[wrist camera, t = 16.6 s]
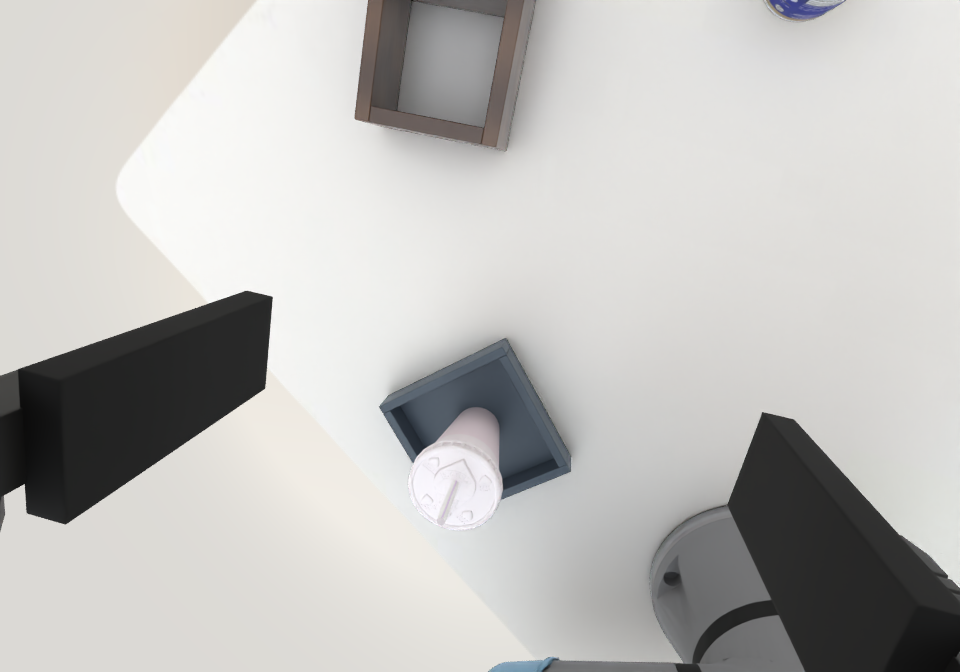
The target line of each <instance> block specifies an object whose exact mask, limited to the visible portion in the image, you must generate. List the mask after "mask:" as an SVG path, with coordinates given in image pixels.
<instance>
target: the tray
mask: <svg viewBox="0 0 960 672" xmlns="http://www.w3.org/2000/svg"><path fill="white" fill-rule="evenodd" d="M472 407H480V408H484V409H486V410H488V411H490V412H491V413H492V414H493V415H494V416H495V417H496V419H497V420H498V423H499V427H500V433H499V471H500V473H501V476H502V483H503V491H502V496H501V499H504V498H506V497H509V496H511V495H514V494H516V493H519V492H521V491H524V490H526V489H529V488H531V487H534V486H536V485H539V484H541V483H544V482H546V481H549V480H551V479H554V478H556V477H559V476H561V475H564V474H566V473H569V472H571V456H570V454H569V452H568V450H567V448H566V447H565V445H564V443H563V441H562V439H561V438H560V436H559V434H558V432H557V430H556V428H555V427H554V425H553V423H552V421H551V419H550V417H549V416H548V414H547V412H546V410H545V408H544V406H543V405H542V403H541V401H540V399H539V397H538V395H537V394H536V392H535V390H534V388H533V386H532V384H531V383H530V381H529V379H528V377H527V375H526V373H525V372H524V370H523V368H522V366H521V364H520V362H519V361H518V359H517V357H516V355H515V353H514V351H513V350H512V348H511V346H510V344H509V342H508V340H507V339H506V338H505V339H503V340H501V341H499V342H497V343H495V344H493V345H491V346H489V347H487V348H484V349H482V350H480V351H478V352H476V353H474V354H472V355H470V356H468V357H466V358H464V359H462V360H460V361H458V362H456V363H454V364H452V365H450V366H448V367H446V368H443V369H441V370H439V371H437V372H435V373H433V374H431V375H429V376H427V377H425V378H423V379H421V380H419V381H417V382H415V383H413V384H411V385H409V386H407V387H405V388H402V389H400V390H398V391H396V392H394V393H392V394H390V395H388V397H387V398H386V399H385V400H384V401H383V403H382V404H381V405H380V406H379V408H380V409H381V411H382V413H384V416H385V418H386V419H387V421H388V423H389V424H390V426H391V428H392V429H393V431H394V433H395V434H396V436H397V438H398V439H399V441H400V442H401V444H402V446H403V447H404V449H405V451H406V452H407V454H408V456H409V457H410V459H411V461H412V462H413V464H414V461H415V459H416V457H417V456H418V455H419V454H420V453H421V452H422V451H423V450H424V449H425V448H427V447H428V446H430V445H432V444H433V443H435V442H436V441H437V440H438V439H439V437H440V436H441V435H442V434H443V433H444V432H445V431H446V430H447V428H448V427H449V426H450V425H451V424H452V423H453V422H454V420H455V419H456V418H457V417H458V416H459V415H460V414H461V413H462V412H463V411H464V410H466V409H468V408H472Z"/></svg>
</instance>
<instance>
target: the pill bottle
mask: <svg viewBox="0 0 960 672" xmlns="http://www.w3.org/2000/svg"><path fill="white" fill-rule="evenodd" d="M764 1H765V3H766V5H767V7H768V8H769V9H770V10H771V11H772V12H773V13H774V14H775V15H776V16H778V17H780V18H782V19H784V20H787V21H792V22H803V21H808V20H812V19H815V18H817V17H819V16H821V15H823V14H825V13H827V12H828V11H830V10H832V9H833V8H835V7H837V6H838V5H840V4H841V3H843V2H844V1H846V0H764Z"/></svg>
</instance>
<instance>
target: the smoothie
mask: <svg viewBox="0 0 960 672" xmlns="http://www.w3.org/2000/svg"><path fill="white" fill-rule="evenodd" d="M499 433H500V427H499V423H498V420H497V419H496V417H495V416H494V415H493V414H492V413H491V412H490V411H488V410H486V409H484V408H480V407H472V408H468V409H466V410H464V411H463V412H462V413H461V414H460V415H459V416H458V417H457V418H456V419H455V420H454V422H453V423H452V424H451V425H450V426H449V427H448V428H447V430H446V431H445V432H444V433H443V434H442V435H441V436H440V437H439V439H438V440H437V441H436V442H435V443H433V444H432V445H430V446H428V447H427V448H425V449H424V450H423V451H422V452H421V453H420V454H419V455H418V456H417V457H416V459H415V461H414V464H413V466H412V468H411V471H410V474H409V479H408V489H409V494H410V497H411V500H412V502H413V504H414V505H415V507H416V508H417V510H418V511H419V512H420V513H421V514H422V515H423V516H424V517H425V518H426V519H427V520H429V521H430V522H432V523H434V524H436V525H438V526H440V527H443V528H446V529H451V530H468V529H472V528H475V527H478V526H480V525H482V524H483V523H485V522H486V521H488V520H489V519H490V518H491V517H492V515H493V514H494V513H495V511H496V509H497V507H498V505H499V502H500V500H501V496H502V491H503V483H502V476H501V473H500V471H499Z"/></svg>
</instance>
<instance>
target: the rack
mask: <svg viewBox="0 0 960 672" xmlns="http://www.w3.org/2000/svg"><path fill="white" fill-rule="evenodd" d="M412 1H415V2H421V3H426V4H432V5H438V6H444V7H449V8H455V9H461V10H467V11H472V12H478V13H484V14H489V15H495V16H501V17H504V22H503V28H502V33H501V39H500V44H499V50H498V55H497V60H496V66H495V71H494V77H493V82H492V88H491V93H490V99H489V104H488V110H487V115H486V121H485V126H484V128H482V127H476V126H471V125H466V124H461V123H456V122H451V121H446V120H441V119H436V118H430V117H425V116H420V115H415V114H410V113H405V112H400V111H397V104H398V97H399V90H400V82H401V75H402V68H403V60H404V53H405V46H406V38H407V31H408V24H409V16H410V9H411V2H412ZM535 2H536V0H368V7H367V15H366V24H365V33H364V41H363V50H362V58H361V67H360V76H359V84H358V93H357V102H356V110H355V119H356V120H359V121H363V122H367V123H370V124H374V125H378V126H381V127H386V128H391V129H396V130H401V131H406V132H411V133H416V134H421V135H426V136H431V137H436V138H441V139H446V140H451V141H456V142H461V143H466V144H471V145H477V146H482V147H487V148H492V149H497V150H502V151H506V150H507V145H508V140H509V135H510V130H511V125H512V120H513V115H514V110H515V104H516V99H517V94H518V89H519V84H520V79H521V74H522V69H523V64H524V58H525V53H526V48H527V43H528V38H529V33H530V28H531V23H532V18H533V12H534V7H535Z"/></svg>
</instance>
